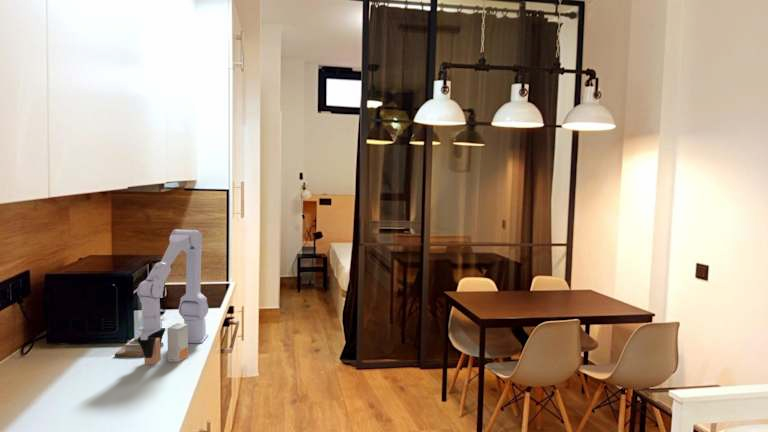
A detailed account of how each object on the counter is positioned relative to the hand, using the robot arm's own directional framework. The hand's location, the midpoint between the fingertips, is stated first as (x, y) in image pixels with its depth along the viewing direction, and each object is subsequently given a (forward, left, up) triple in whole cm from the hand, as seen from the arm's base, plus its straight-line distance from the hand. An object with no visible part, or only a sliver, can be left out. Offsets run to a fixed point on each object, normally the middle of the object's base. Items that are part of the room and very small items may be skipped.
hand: (152, 353), depth 178 cm
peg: (0, 0, -3) cm, 3 cm away
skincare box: (-2, +8, -3) cm, 9 cm away
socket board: (-11, -8, -3) cm, 14 cm away
